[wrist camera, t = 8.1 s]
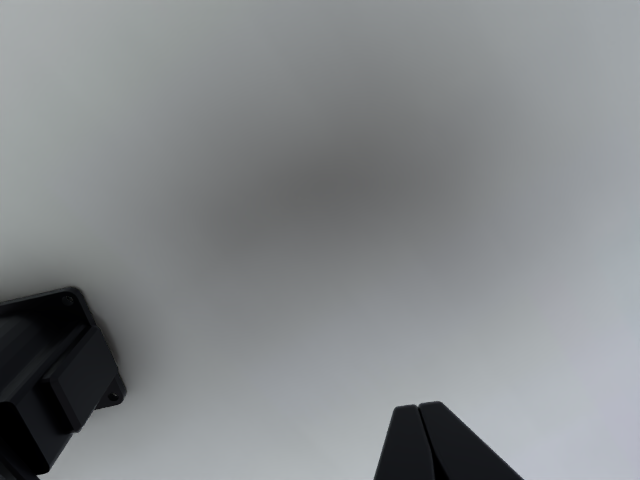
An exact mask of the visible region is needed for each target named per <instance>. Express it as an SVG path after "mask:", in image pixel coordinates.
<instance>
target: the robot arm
mask: <svg viewBox="0 0 640 480" xmlns="http://www.w3.org/2000/svg"><path fill="white" fill-rule="evenodd" d="M66 296H69V297H71V298H72V299H73V302H71V301H69V300H68V299H67V297H66ZM112 393H115V394H117V395H118V396H115V395H113V394H112ZM125 396H126V389H125V387H124V385H123V383H122V381H121V378H120V376H119V374H118V368H117V365H116V363H115V361H114V359H113V357H112V354H111V352H110V350H109V348H108V346H107V344H106V341H105V339H104V337H103V335H102V333H101V330H100V329H99V328H98V327H97V326H96V324H95V322H94V320H93V317H92V315H91V313H90V311H89V309H88V306H87V304H86V302H85V300H84V298H83V296H82V294H81V292H80V291H79V290H77V289H76V288H72V287H68V288H63V289H59V290H54V291H50V292H46V293H41V294H37V295H32V296H28V297H24V298H19V299H15V300H10V301H6V302H2V303H0V480H40V479H39V478H38V477H37V476H36V475H40V474H45V473H47V472H49V471H50V469H51V468H52V466H53V464H54V463H55V461H56V460H57V458H58V457H59V455H60V454H61V452H62V451H63V449H64V447H65V446H66V444H67V443H68V441H69V440H70V438H71V437H72V435H73V433H78V432H80V431H81V429H82V428H83V426H84V424H85V423H86V421H87V420H88V418H89V417H90V415H91V413H92V412H93V410H96V409H101V408H105V407H110V406H115V405H118V404H121V402H122V401H123V400H124V398H125ZM374 480H524V479H523V478H522V477H521V476H520V475H519V474H517V473H516V472H515V471H514V470H513V469H512V468H511V467H510V466H509V465H508V464H507V463H506V462H505V461H504V460H503V459H502V458H500V457H499V456H498V455H497V454H496V453H495V452H494V451H493V450H492V449H491V448H490V447H489V446H488V445H487V444H486V443H485V442H483V441H482V440H481V439H480V438H479V437H478V436H477V435H476V434H475V433H474V432H473V431H472V430H471V429H470V428H469V427H468V426H466V425H465V424H464V423H463V422H462V421H461V420H460V419H459V418H458V417H457V416H456V415H455V414H454V413H453V412H452V411H451V410H449V409H448V408H447V407H446V406H445V405H444V404H443V403H442V402H440V401H434V402H427V403H421V404H419V406H418V407H417V406H416V405H414V404H412V405H405V406H398V407H396V408H395V409H394V411H393V414H392V417H391V421H390V424H389V428H388V431H387V435H386V438H385V442H384V445H383V449H382V452H381V456H380V459H379V462H378V466H377V469H376V473H375V476H374Z"/></svg>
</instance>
